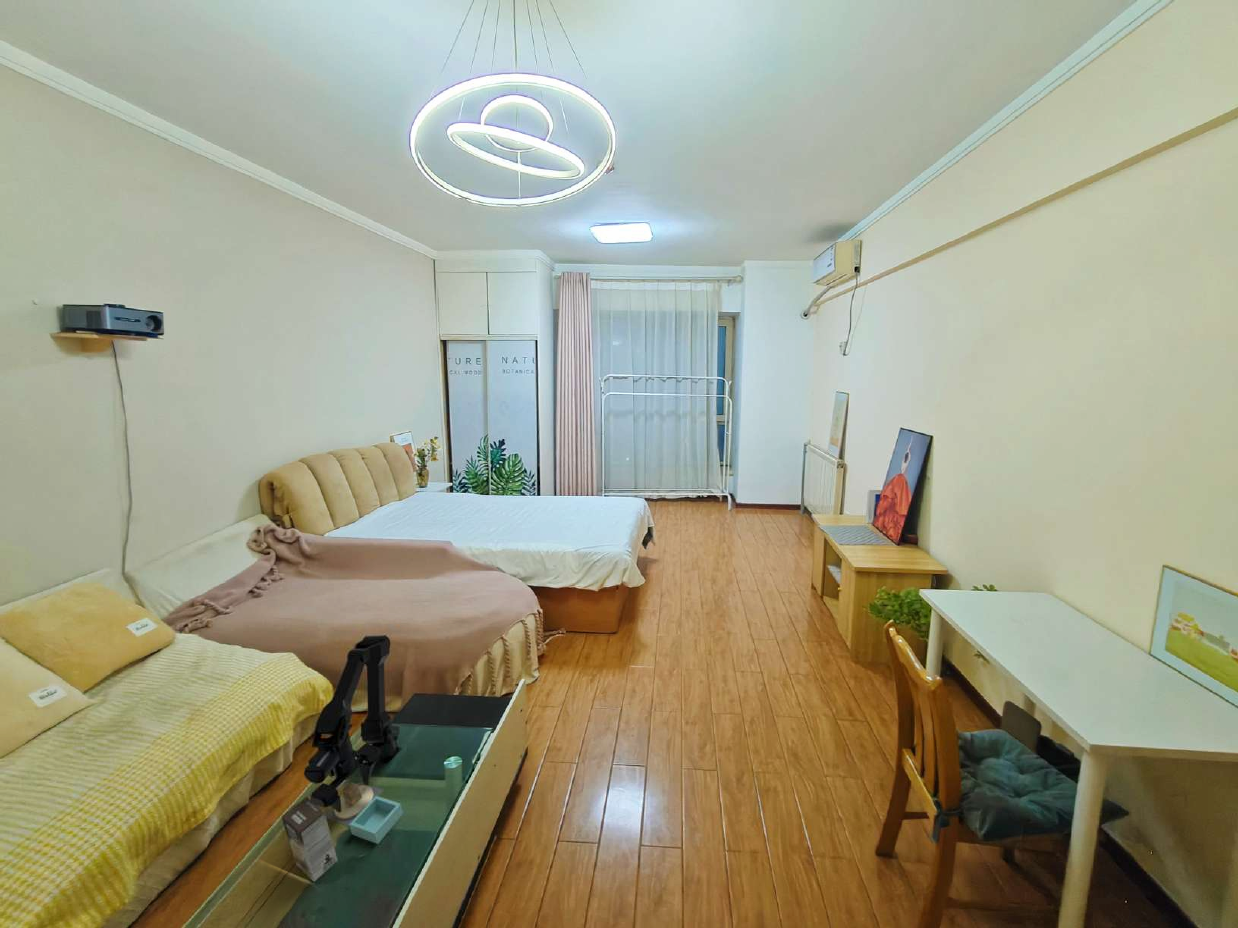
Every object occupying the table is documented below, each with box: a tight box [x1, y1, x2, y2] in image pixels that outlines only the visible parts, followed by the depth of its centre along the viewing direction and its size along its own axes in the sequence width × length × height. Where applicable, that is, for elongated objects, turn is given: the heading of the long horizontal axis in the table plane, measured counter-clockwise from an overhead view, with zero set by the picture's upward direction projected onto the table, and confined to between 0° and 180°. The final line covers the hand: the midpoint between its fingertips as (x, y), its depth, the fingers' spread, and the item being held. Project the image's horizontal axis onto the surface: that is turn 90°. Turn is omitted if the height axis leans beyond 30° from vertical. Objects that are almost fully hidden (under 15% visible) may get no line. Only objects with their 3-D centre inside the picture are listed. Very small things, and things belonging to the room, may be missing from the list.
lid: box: [334, 781, 374, 819], centre depth 146 cm, size 10×10×5 cm
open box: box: [349, 796, 404, 845], centre depth 139 cm, size 9×9×4 cm
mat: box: [325, 781, 385, 828], centre depth 146 cm, size 12×10×1 cm
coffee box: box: [281, 796, 338, 882], centre depth 128 cm, size 9×6×16 cm
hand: (353, 797), depth 146 cm, fingers open, 9 cm apart
